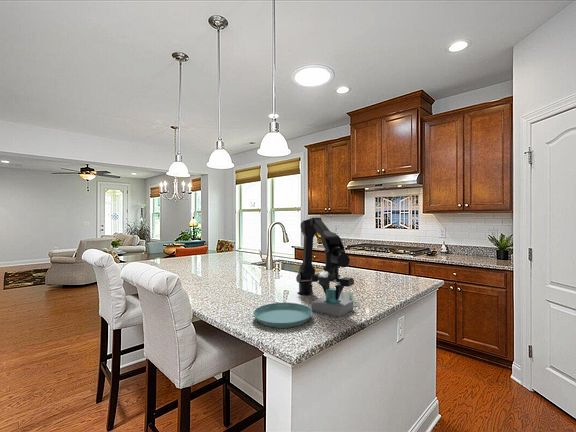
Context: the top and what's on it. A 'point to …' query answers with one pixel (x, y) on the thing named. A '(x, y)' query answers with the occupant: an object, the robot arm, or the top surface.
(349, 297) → the metal bracket
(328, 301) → the teal peg
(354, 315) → the top surface
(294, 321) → the saucer
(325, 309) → the well block
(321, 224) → the robot arm
